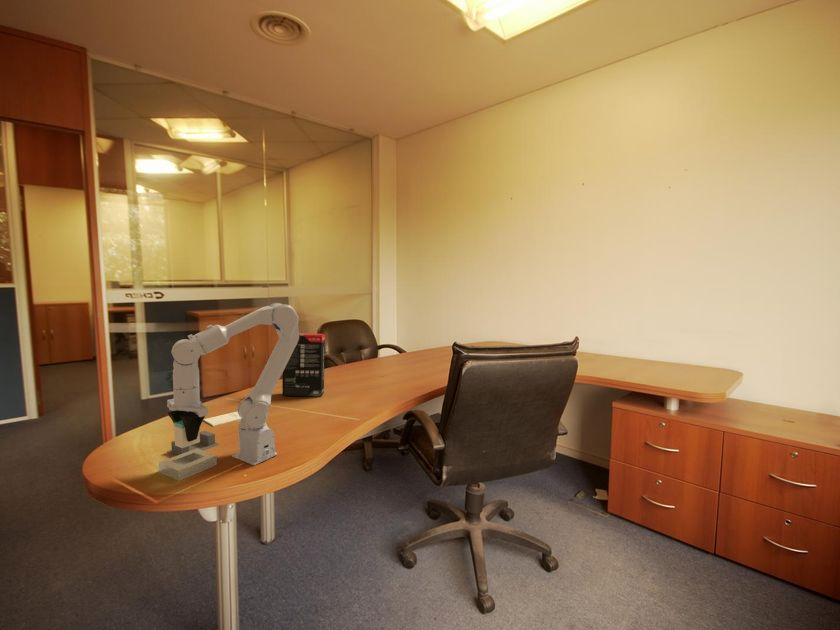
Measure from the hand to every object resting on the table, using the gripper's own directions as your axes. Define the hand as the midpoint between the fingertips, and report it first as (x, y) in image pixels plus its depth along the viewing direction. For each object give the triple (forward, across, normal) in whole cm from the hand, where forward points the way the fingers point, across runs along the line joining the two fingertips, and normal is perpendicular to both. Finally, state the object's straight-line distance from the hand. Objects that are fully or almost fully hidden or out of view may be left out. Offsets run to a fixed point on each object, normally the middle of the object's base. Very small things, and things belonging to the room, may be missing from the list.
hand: (187, 438), depth 100 cm
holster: (+8, -11, +8) cm, 16 cm away
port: (+8, 0, 0) cm, 8 cm away
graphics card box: (+9, -25, +65) cm, 70 cm away
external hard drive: (+9, -25, +28) cm, 39 cm away
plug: (+1, 0, 0) cm, 1 cm away
